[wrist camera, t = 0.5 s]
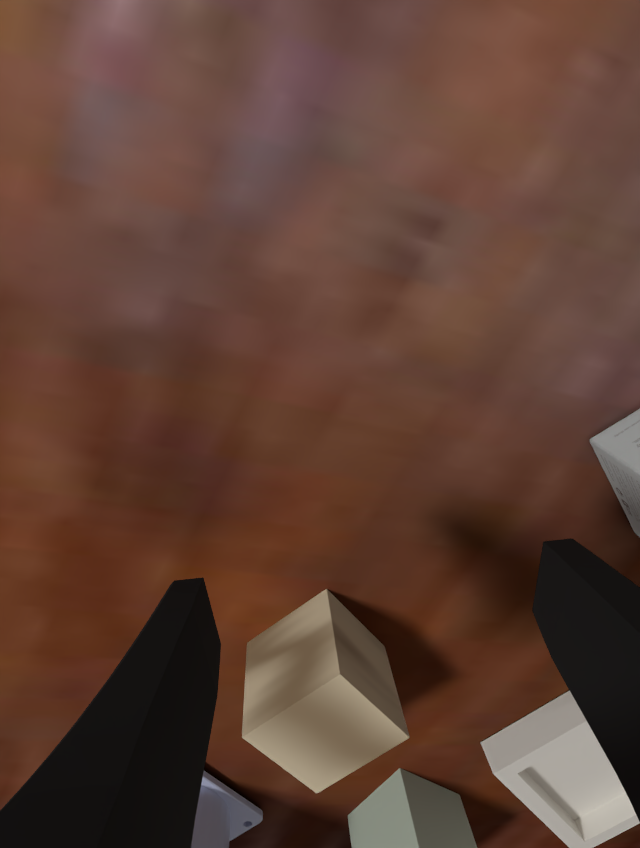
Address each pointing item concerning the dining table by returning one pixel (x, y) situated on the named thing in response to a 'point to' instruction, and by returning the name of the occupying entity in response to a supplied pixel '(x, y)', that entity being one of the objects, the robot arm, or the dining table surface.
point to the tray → (562, 774)
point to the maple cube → (320, 694)
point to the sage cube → (410, 816)
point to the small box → (622, 463)
